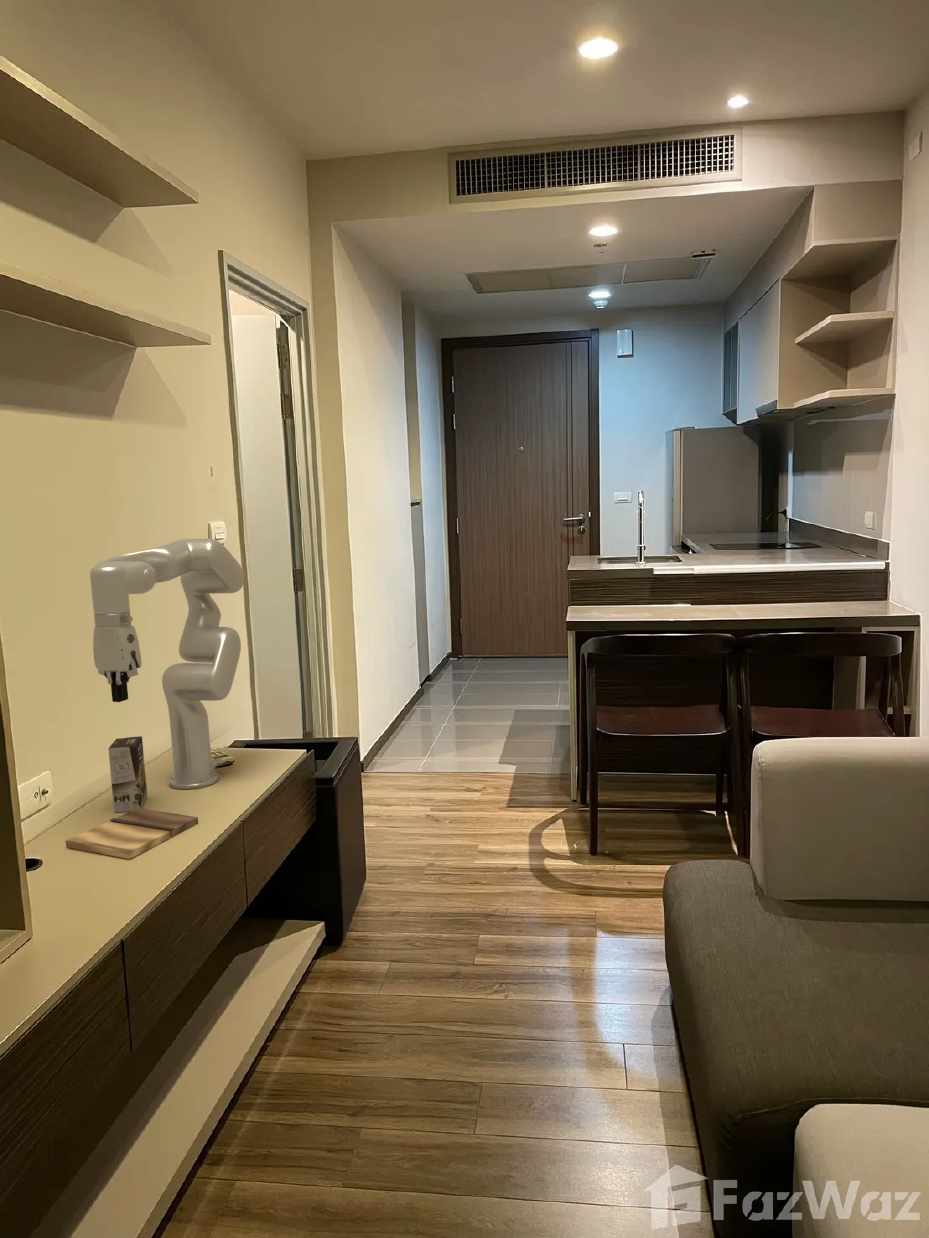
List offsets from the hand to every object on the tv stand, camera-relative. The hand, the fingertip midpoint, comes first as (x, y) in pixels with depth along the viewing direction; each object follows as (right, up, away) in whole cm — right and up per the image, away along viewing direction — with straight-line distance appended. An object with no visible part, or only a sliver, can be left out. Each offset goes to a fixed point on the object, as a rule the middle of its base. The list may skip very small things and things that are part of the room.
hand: (120, 700), depth 198 cm
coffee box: (-4, -27, +16) cm, 32 cm away
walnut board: (+7, -29, +3) cm, 30 cm away
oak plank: (+2, -30, -7) cm, 31 cm away
